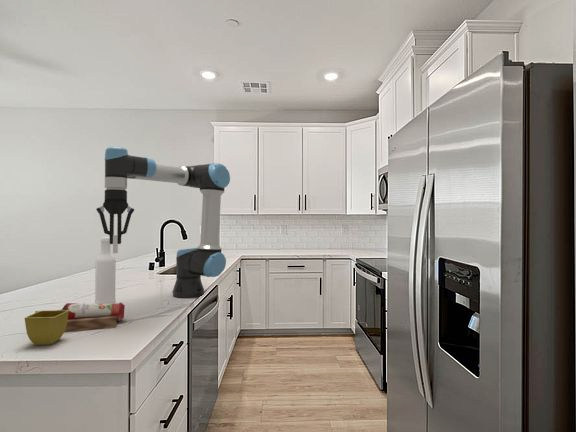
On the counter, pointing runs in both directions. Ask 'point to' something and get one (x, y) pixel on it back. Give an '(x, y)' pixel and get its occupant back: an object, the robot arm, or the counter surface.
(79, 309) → the liquor
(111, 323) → the rest
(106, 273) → the bottle
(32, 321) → the flower pot
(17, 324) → the counter surface
